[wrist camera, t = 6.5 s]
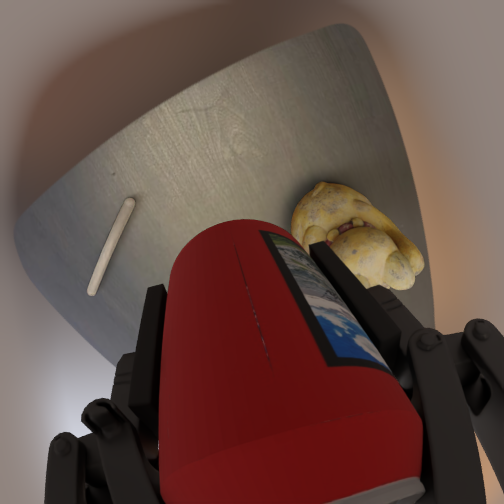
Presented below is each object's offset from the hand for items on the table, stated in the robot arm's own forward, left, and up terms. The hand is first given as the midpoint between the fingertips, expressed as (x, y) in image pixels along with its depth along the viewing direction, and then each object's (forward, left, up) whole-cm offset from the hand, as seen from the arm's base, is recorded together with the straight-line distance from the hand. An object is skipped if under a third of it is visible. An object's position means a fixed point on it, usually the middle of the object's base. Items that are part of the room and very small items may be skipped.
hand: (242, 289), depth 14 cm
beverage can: (0, 0, -1) cm, 1 cm away
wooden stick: (-7, -12, -19) cm, 23 cm away
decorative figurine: (+11, +4, -19) cm, 22 cm away
